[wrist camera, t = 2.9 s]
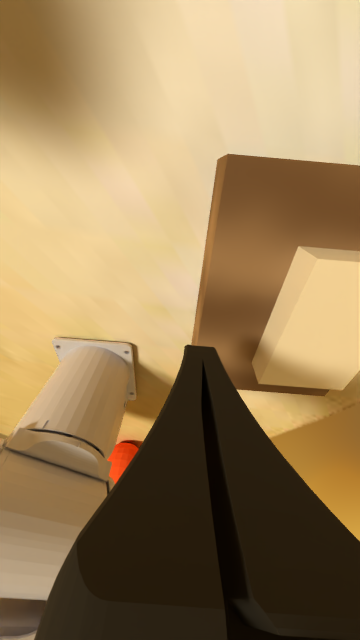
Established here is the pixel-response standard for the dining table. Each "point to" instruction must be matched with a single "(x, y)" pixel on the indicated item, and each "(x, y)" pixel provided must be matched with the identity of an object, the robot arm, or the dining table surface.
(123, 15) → the dining table surface
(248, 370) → the brown wooden block
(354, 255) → the tile
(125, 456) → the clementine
